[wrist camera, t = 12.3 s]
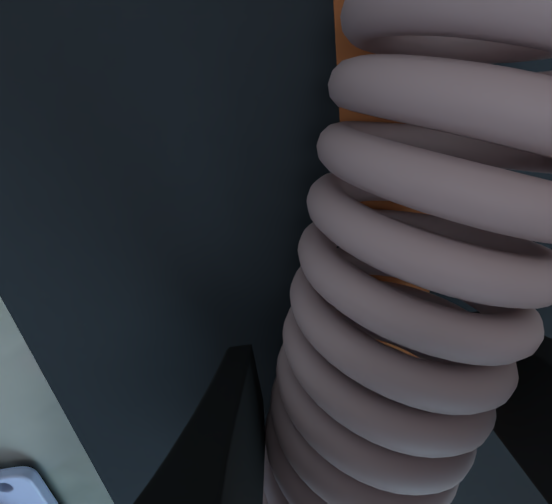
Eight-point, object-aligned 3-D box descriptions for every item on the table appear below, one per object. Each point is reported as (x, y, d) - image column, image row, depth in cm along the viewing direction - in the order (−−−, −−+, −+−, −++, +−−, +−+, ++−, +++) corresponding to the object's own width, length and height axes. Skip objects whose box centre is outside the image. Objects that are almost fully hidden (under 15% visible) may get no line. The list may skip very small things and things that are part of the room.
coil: (438, -388, 2) (224, 681, 9) (1106, -285, 2) (388, 707, 9) (344, -52, 7) (247, 500, 13) (571, -16, 7) (358, 517, 13)
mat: (158, 576, 15) (156, 583, 15) (-291, -255, 5) (-316, -272, 5) (575, 518, 15) (580, 524, 15) (955, -453, 5) (987, -478, 5)
